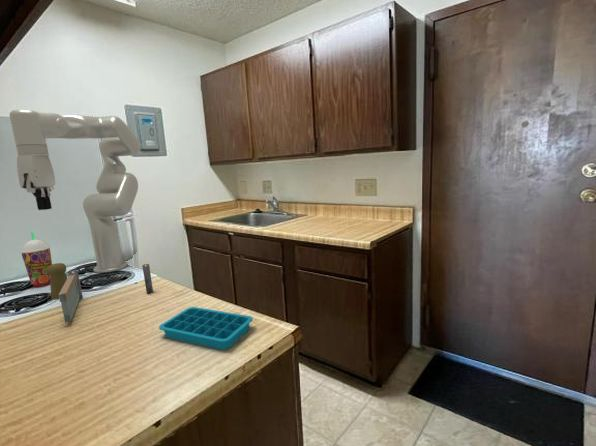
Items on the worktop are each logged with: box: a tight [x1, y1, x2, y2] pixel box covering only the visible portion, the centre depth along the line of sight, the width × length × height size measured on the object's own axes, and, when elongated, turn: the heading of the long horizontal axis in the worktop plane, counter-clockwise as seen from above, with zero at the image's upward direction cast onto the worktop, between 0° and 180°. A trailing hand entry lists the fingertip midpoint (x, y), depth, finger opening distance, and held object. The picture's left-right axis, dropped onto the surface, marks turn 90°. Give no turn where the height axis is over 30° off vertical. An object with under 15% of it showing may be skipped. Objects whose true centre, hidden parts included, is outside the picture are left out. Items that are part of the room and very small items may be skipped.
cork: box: [47, 262, 68, 300], centre depth 105 cm, size 6×6×11 cm
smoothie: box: [20, 231, 53, 288], centre depth 117 cm, size 8×8×20 cm
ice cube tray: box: [158, 306, 253, 351], centre depth 76 cm, size 12×20×3 cm, turn 66°
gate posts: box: [68, 263, 154, 301], centre depth 102 cm, size 2×24×10 cm, turn 96°
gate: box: [58, 274, 80, 324], centre depth 91 cm, size 19×2×8 cm, turn 28°
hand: (45, 209), depth 103 cm, fingers closed
